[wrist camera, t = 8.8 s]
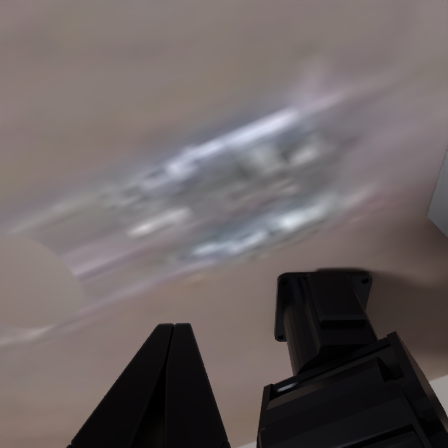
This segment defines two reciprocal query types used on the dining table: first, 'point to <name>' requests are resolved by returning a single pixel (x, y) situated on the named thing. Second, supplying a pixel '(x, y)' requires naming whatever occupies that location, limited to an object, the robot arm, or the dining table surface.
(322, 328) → the robot arm
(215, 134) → the dining table surface
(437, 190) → the trap deck
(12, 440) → the dining table surface
